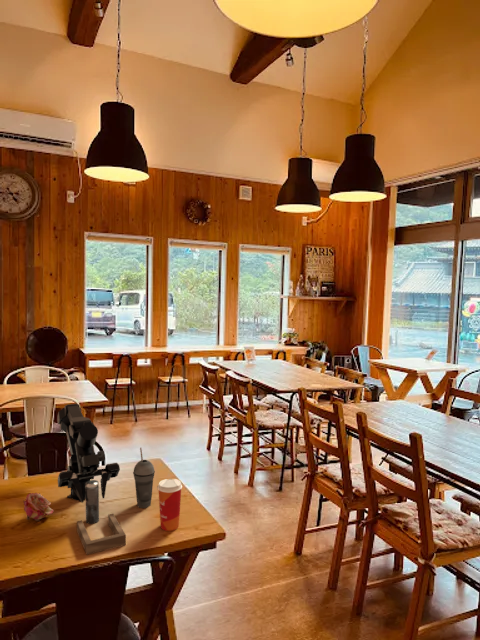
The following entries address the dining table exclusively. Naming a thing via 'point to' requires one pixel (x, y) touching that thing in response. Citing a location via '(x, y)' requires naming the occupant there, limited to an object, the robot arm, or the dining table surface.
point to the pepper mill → (92, 501)
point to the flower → (36, 506)
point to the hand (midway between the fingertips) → (93, 500)
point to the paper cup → (169, 503)
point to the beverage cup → (143, 482)
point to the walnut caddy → (105, 542)
